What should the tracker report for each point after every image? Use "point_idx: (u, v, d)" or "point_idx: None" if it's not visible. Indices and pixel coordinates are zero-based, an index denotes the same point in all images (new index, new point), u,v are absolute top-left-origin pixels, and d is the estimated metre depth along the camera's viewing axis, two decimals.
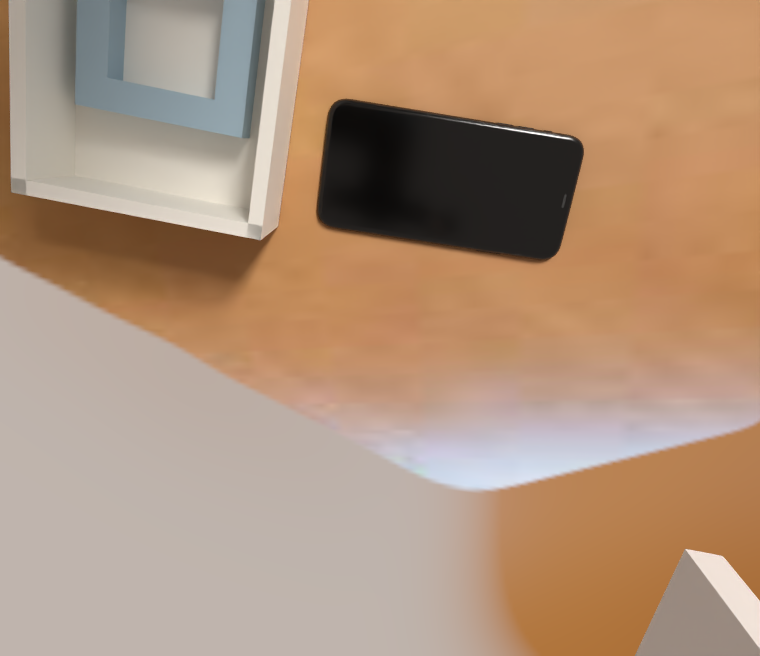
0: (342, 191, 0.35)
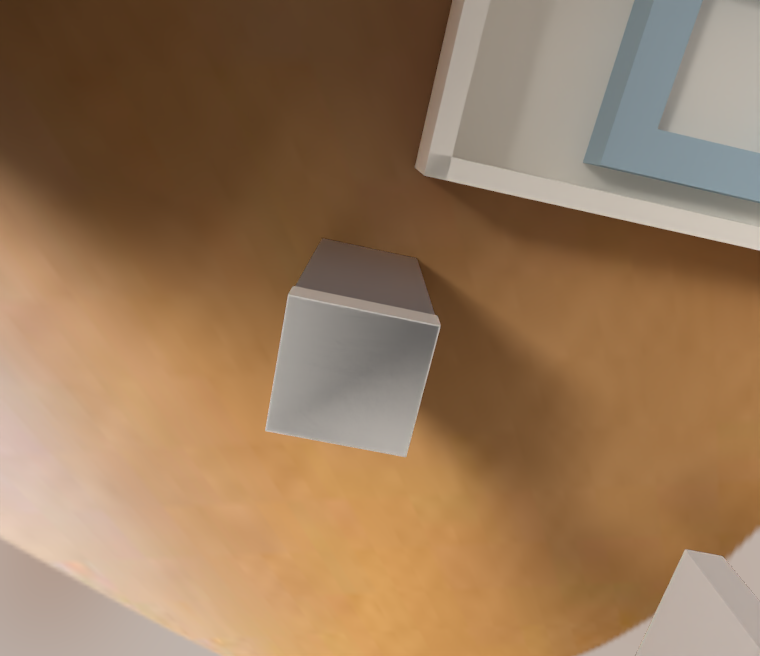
0: None
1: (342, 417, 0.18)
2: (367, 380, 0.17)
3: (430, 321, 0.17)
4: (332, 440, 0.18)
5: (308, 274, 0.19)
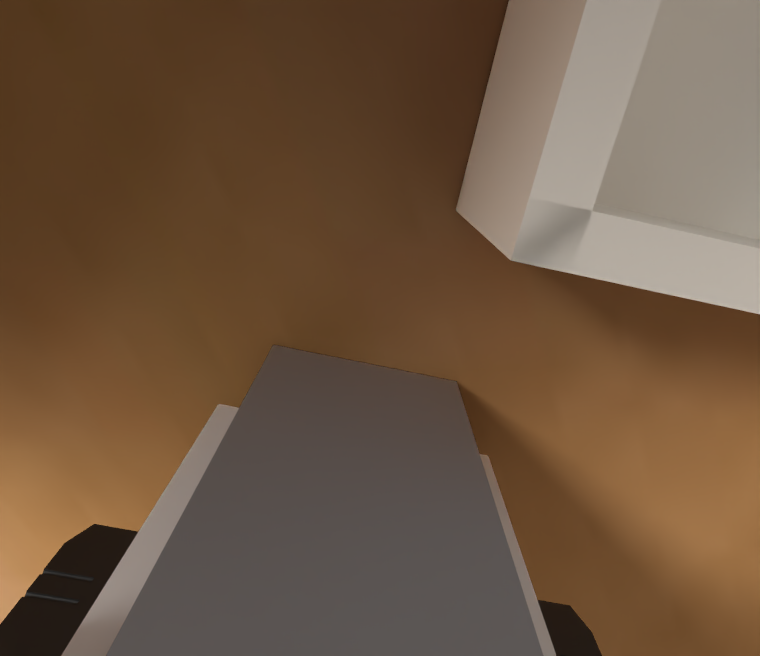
0: None
1: None
2: None
3: None
4: None
5: (180, 553, 0.07)
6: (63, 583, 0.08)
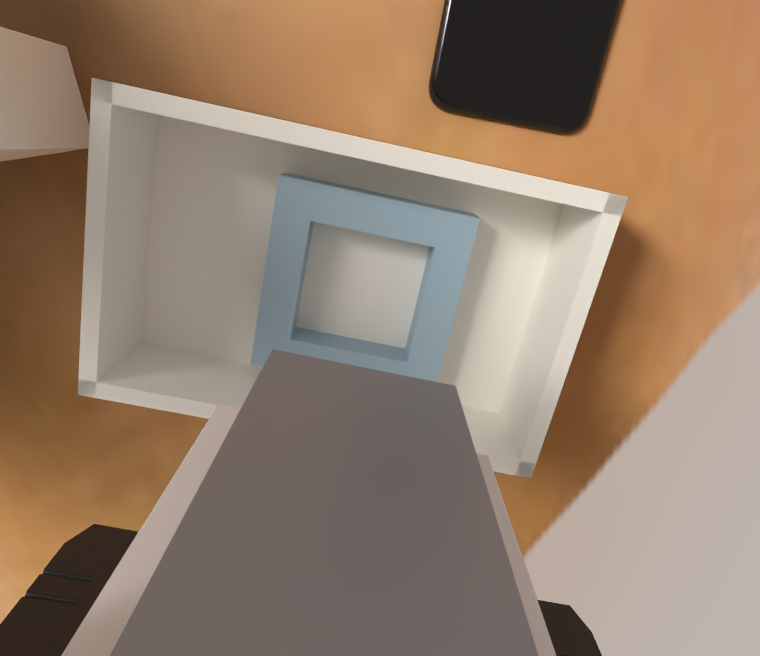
0: (544, 95, 0.26)
1: None
2: None
3: None
4: None
5: (178, 561, 0.07)
6: (63, 583, 0.08)
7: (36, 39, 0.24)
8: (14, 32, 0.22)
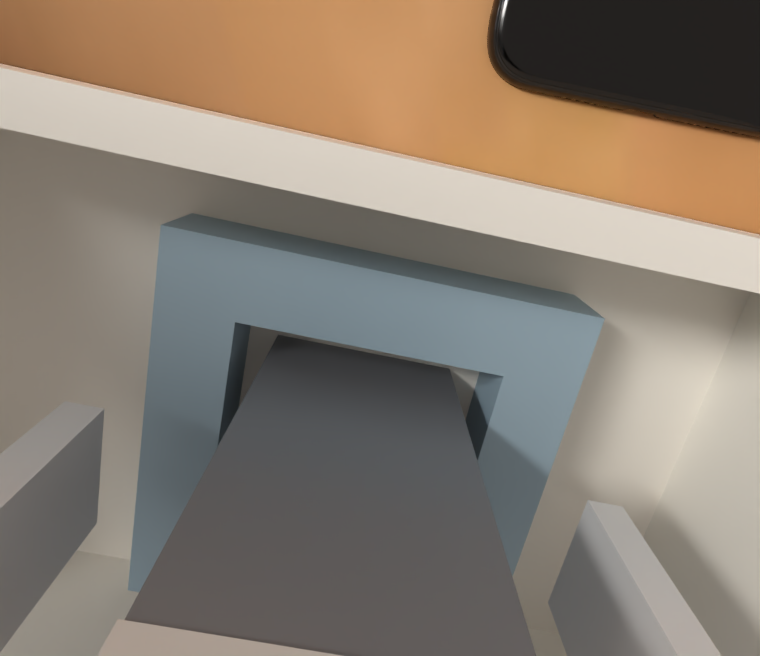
0: (737, 54, 0.12)
1: None
2: None
3: None
4: None
5: (201, 508, 0.08)
6: None
7: None
8: None
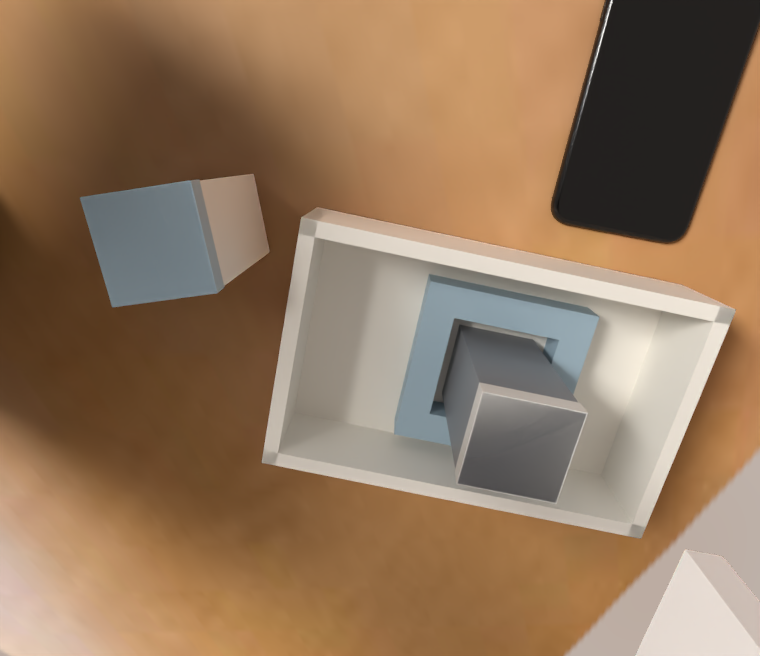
0: (651, 213, 0.31)
1: (512, 475, 0.25)
2: (532, 449, 0.24)
3: (579, 409, 0.24)
4: (503, 491, 0.25)
5: (478, 368, 0.26)
6: None
7: (242, 176, 0.29)
8: (234, 177, 0.28)
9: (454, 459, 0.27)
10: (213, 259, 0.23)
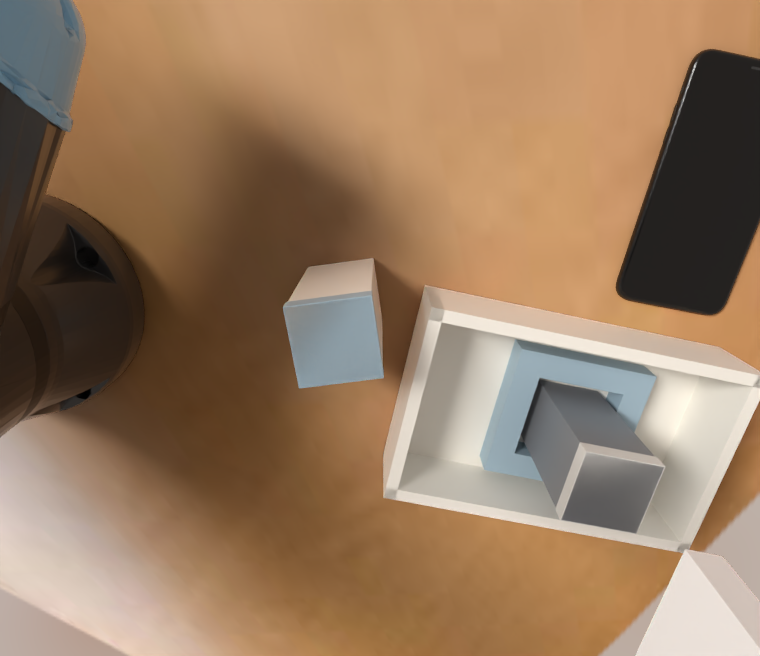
0: (697, 292, 0.38)
1: (604, 513, 0.32)
2: (621, 494, 0.31)
3: (658, 463, 0.31)
4: (596, 525, 0.32)
5: (572, 427, 0.33)
6: None
7: (373, 266, 0.36)
8: (372, 271, 0.34)
9: (552, 498, 0.34)
10: (379, 350, 0.30)
